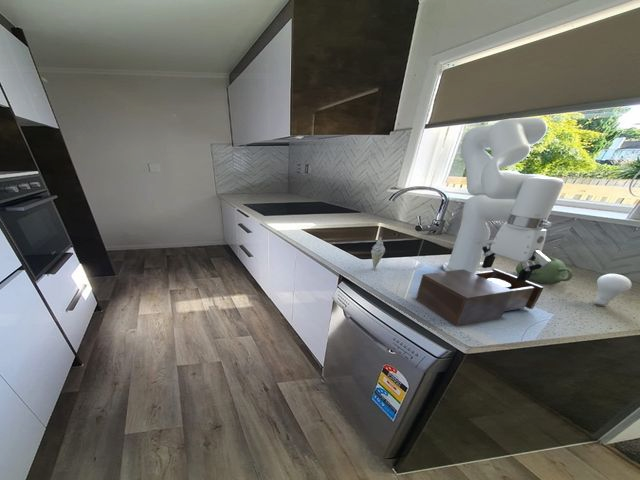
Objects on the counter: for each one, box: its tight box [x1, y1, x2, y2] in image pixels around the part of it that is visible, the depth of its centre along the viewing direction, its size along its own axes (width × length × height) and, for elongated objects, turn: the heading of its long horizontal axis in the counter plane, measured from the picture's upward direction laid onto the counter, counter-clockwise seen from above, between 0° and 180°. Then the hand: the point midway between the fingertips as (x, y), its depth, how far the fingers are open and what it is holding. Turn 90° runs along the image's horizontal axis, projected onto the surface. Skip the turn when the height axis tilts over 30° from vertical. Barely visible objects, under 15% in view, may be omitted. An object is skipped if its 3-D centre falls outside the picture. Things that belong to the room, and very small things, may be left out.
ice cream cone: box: [370, 236, 386, 271], centre depth 102 cm, size 5×5×15 cm
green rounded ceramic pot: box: [515, 255, 574, 285], centre depth 93 cm, size 16×13×9 cm
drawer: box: [474, 268, 545, 312], centre depth 79 cm, size 20×13×8 cm
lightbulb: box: [594, 273, 632, 306], centre depth 77 cm, size 6×6×11 cm
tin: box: [488, 278, 511, 289], centre depth 79 cm, size 6×6×6 cm
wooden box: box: [415, 269, 513, 327], centre depth 76 cm, size 17×15×10 cm
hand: (502, 273), depth 77 cm, fingers open, 9 cm apart
